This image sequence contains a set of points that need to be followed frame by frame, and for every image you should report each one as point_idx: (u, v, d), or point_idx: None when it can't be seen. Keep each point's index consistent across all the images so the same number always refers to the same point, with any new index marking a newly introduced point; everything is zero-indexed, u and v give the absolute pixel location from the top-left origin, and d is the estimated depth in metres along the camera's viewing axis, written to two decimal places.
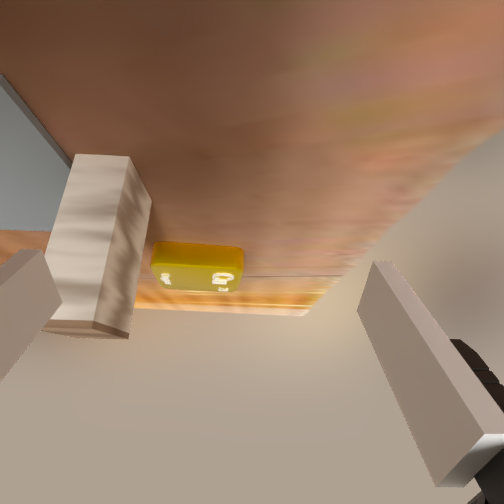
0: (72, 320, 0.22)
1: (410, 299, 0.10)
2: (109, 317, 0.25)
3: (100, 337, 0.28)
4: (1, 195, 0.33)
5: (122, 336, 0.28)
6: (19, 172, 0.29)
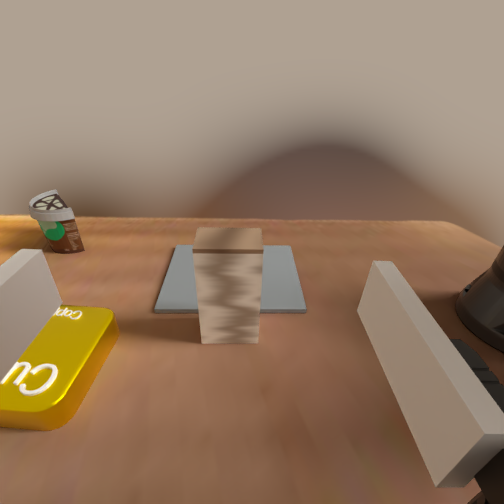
0: None
1: (410, 299, 0.10)
2: (238, 258, 0.34)
3: (204, 238, 0.35)
4: None
5: (206, 249, 0.33)
6: None
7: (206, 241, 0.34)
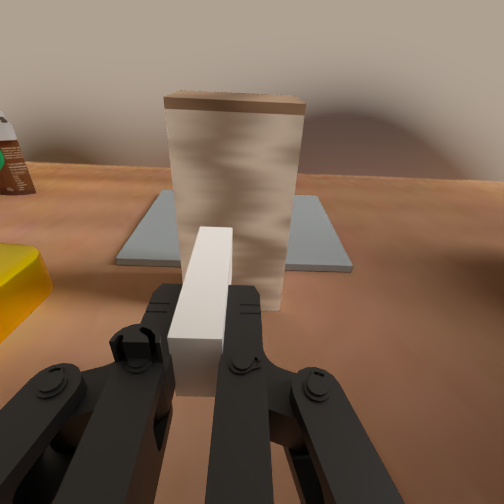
0: None
1: (222, 254, 0.12)
2: (255, 126, 0.17)
3: (191, 94, 0.18)
4: None
5: (192, 100, 0.17)
6: None
7: (193, 95, 0.18)
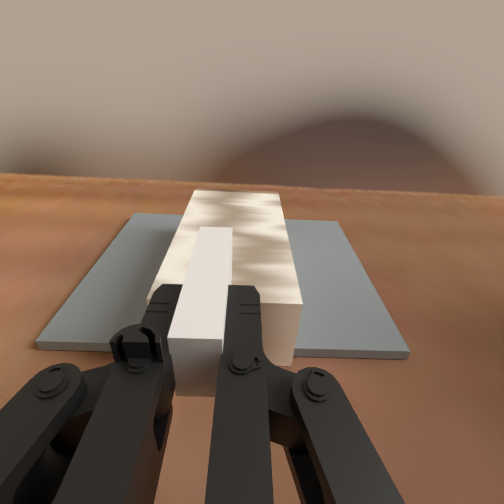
0: None
1: (222, 254, 0.12)
2: (249, 195, 0.28)
3: None
4: None
5: (212, 189, 0.28)
6: None
7: None
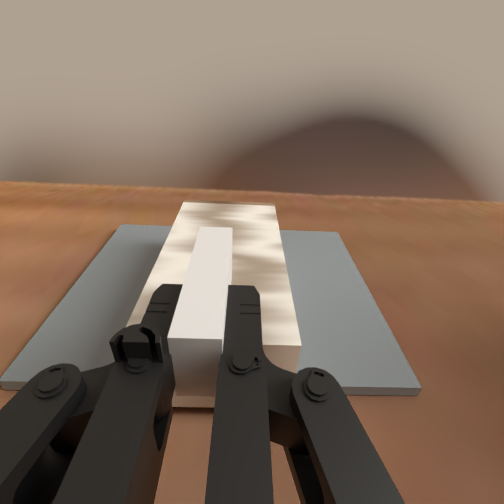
0: None
1: (222, 254, 0.12)
2: (243, 207, 0.25)
3: None
4: None
5: (202, 200, 0.26)
6: None
7: None
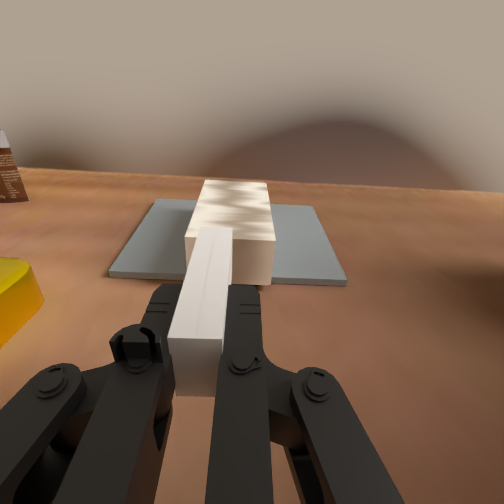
0: None
1: (222, 254, 0.12)
2: (245, 183, 0.38)
3: None
4: None
5: (218, 179, 0.39)
6: None
7: None
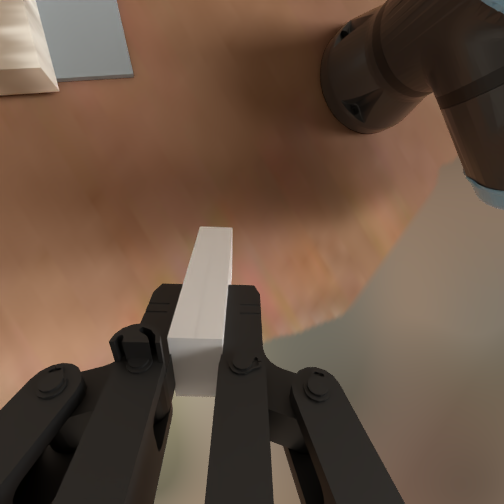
0: None
1: (222, 254, 0.12)
2: None
3: None
4: None
5: None
6: None
7: None
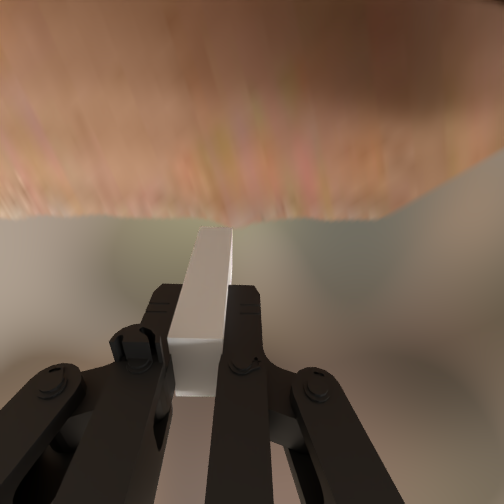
0: None
1: (222, 254, 0.12)
2: None
3: None
4: None
5: None
6: None
7: None
